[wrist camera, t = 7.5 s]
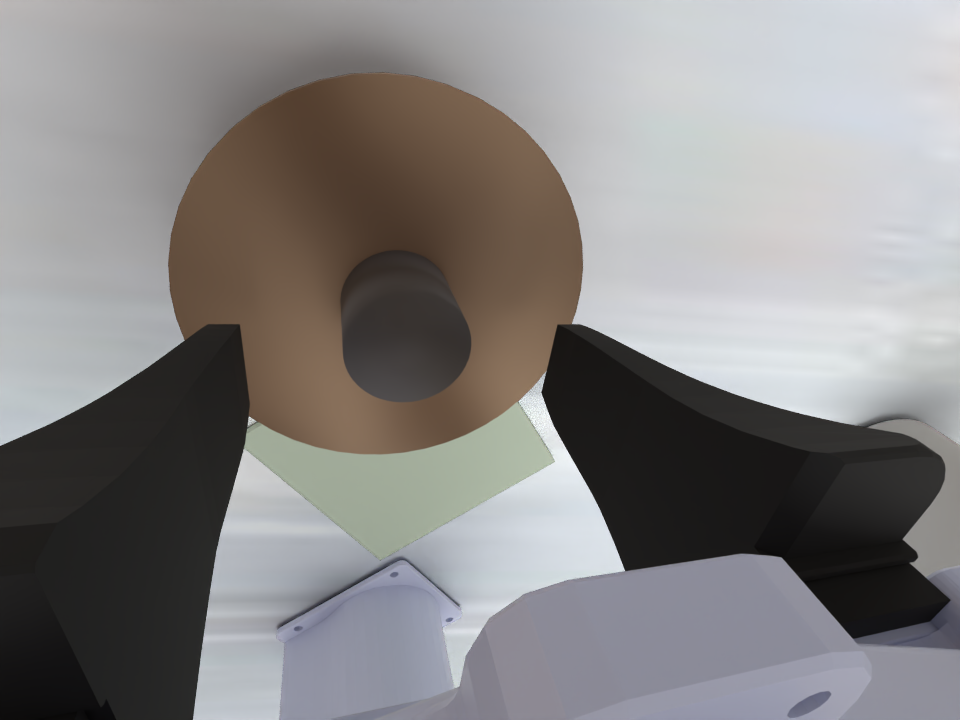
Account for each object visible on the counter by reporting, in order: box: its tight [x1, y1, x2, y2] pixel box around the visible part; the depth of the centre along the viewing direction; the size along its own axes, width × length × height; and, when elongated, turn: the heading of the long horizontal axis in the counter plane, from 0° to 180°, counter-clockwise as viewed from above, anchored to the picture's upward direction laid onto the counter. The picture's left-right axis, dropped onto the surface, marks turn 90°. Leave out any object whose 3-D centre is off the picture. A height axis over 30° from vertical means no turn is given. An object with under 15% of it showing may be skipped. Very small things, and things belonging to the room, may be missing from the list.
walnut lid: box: [168, 72, 583, 454], centre depth 13 cm, size 11×11×3 cm
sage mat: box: [244, 402, 555, 560], centre depth 27 cm, size 12×12×1 cm
